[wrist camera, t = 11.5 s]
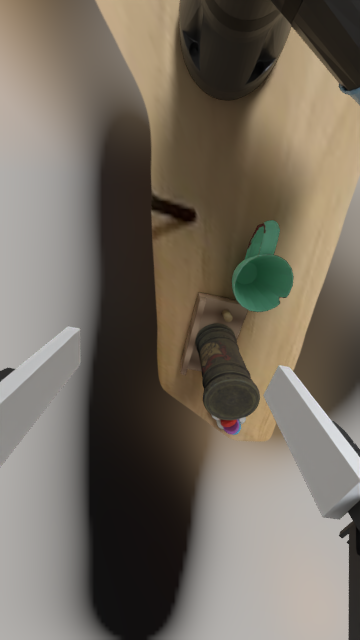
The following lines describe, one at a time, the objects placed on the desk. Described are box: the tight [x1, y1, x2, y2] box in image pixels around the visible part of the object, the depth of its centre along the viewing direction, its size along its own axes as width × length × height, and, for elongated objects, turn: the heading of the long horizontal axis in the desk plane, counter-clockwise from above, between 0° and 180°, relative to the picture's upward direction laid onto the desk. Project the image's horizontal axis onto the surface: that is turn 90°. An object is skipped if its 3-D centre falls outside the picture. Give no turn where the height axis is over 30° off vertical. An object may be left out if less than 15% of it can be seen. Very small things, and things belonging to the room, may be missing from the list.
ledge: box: [181, 292, 248, 375], centre depth 45 cm, size 19×11×6 cm, turn 168°
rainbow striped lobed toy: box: [212, 415, 246, 435], centre depth 55 cm, size 8×10×7 cm
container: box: [195, 323, 260, 420], centre depth 37 cm, size 9×9×18 cm
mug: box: [232, 220, 294, 312], centre depth 36 cm, size 15×10×10 cm
